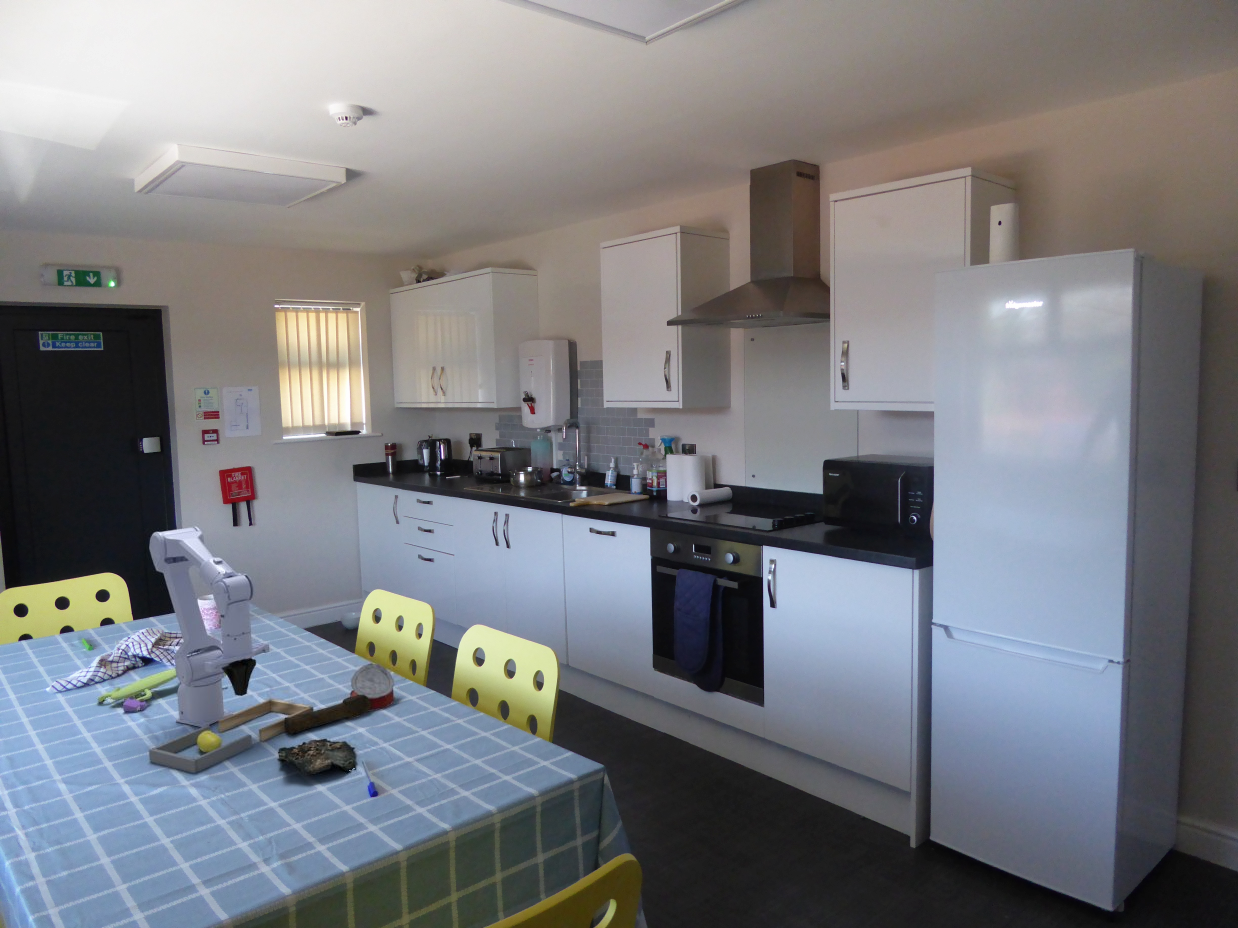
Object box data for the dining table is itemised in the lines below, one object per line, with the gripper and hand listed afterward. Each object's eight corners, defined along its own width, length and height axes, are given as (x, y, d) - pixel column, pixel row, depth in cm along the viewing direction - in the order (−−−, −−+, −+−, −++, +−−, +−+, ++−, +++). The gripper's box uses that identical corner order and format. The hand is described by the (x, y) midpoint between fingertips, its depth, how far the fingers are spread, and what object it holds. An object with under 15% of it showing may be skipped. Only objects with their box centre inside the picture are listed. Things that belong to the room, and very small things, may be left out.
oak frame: (218, 731, 180) (217, 720, 180) (271, 708, 193) (270, 698, 192) (262, 741, 174) (261, 729, 174) (313, 717, 187) (313, 706, 186)
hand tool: (289, 738, 176) (287, 717, 175) (283, 732, 179) (282, 712, 179) (375, 715, 187) (374, 695, 187) (369, 710, 190) (368, 691, 190)
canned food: (391, 714, 199) (409, 678, 199) (375, 727, 189) (394, 688, 189) (351, 692, 200) (369, 656, 200) (332, 703, 190) (351, 665, 190)
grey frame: (149, 761, 166) (148, 749, 166) (208, 736, 178) (207, 725, 178) (194, 773, 160) (193, 760, 160) (252, 746, 172) (251, 734, 172)
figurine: (231, 692, 206) (229, 670, 206) (106, 721, 189) (104, 698, 189) (213, 674, 220) (211, 654, 220) (95, 700, 204) (93, 678, 203)
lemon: (215, 741, 175) (213, 723, 175) (226, 753, 169) (224, 734, 169) (193, 747, 172) (192, 729, 172) (204, 759, 166) (202, 740, 166)
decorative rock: (261, 739, 166) (335, 714, 175) (266, 768, 167) (340, 741, 176) (288, 764, 151) (367, 735, 160) (294, 796, 152) (372, 766, 161)
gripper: (219, 644, 168) (224, 708, 169) (277, 625, 181) (281, 685, 182) (196, 640, 171) (201, 704, 172) (254, 622, 184) (259, 681, 185)
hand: (241, 694), depth 177 cm, fingers closed
